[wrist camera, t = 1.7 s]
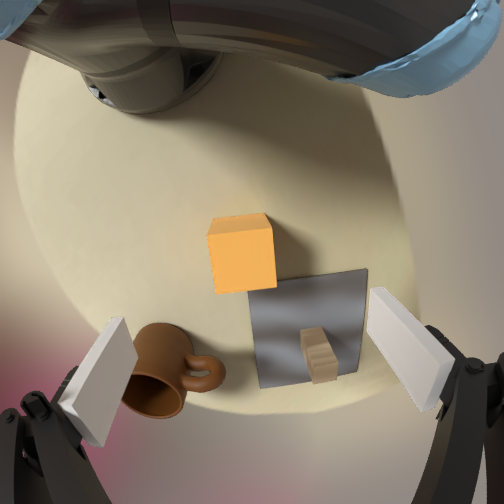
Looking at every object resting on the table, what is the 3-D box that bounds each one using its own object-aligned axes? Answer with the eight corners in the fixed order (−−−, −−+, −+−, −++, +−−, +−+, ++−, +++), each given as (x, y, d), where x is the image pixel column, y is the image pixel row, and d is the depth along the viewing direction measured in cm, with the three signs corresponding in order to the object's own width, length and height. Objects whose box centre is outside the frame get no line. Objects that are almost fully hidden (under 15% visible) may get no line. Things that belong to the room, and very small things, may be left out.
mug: (217, 306, 32) (211, 358, 23) (235, 356, 34) (236, 411, 25) (127, 325, 32) (100, 374, 23) (151, 370, 34) (135, 421, 25)
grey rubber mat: (246, 284, 31) (250, 319, 24) (365, 268, 31) (396, 296, 24) (259, 386, 36) (264, 427, 29) (355, 370, 36) (373, 405, 29)
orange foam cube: (213, 218, 29) (206, 235, 22) (264, 213, 29) (272, 227, 22) (220, 266, 30) (216, 294, 24) (268, 261, 30) (276, 287, 24)
